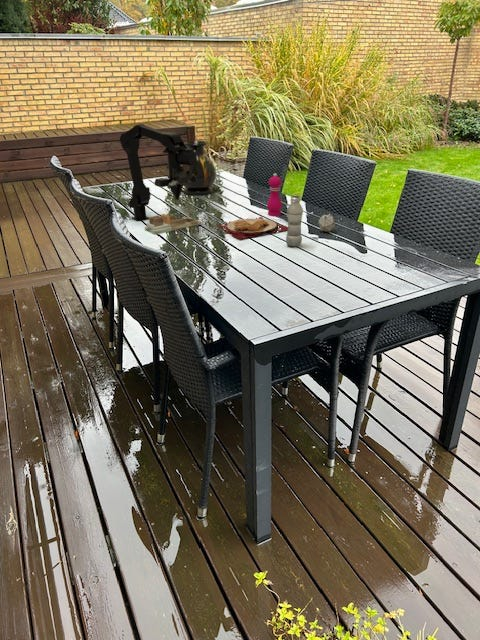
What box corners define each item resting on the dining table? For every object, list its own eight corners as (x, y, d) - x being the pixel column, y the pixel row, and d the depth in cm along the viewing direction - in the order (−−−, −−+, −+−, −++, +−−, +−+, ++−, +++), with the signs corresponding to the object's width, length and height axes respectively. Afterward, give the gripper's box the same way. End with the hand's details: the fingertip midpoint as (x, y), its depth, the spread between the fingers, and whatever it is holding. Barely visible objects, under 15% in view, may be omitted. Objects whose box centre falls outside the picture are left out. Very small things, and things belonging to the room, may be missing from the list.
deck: (145, 230, 221) (144, 221, 219) (189, 220, 234) (188, 211, 233) (155, 234, 215) (154, 225, 213) (199, 224, 228) (199, 215, 226)
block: (149, 224, 219) (148, 217, 218) (158, 222, 222) (157, 215, 220) (154, 227, 216) (154, 219, 214) (163, 225, 219) (162, 217, 217)
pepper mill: (280, 216, 237) (281, 174, 228) (266, 216, 239) (266, 174, 230) (282, 212, 244) (283, 172, 234) (268, 212, 245) (268, 171, 236)
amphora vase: (215, 196, 276) (213, 144, 263) (177, 197, 276) (174, 145, 263) (217, 188, 295) (215, 139, 282) (182, 188, 295) (179, 139, 282)
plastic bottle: (303, 243, 201) (305, 195, 192) (299, 249, 195) (301, 199, 186) (288, 242, 203) (289, 194, 194) (283, 247, 197) (285, 198, 188)
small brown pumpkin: (329, 239, 218) (343, 221, 215) (324, 237, 210) (339, 219, 207) (314, 226, 220) (328, 209, 217) (309, 225, 212) (324, 206, 209)
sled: (147, 226, 219) (146, 217, 217) (164, 222, 224) (163, 213, 222) (153, 229, 215) (152, 220, 213) (171, 225, 220) (170, 216, 218)
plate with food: (290, 232, 218) (290, 224, 216) (239, 241, 206) (239, 232, 204) (260, 220, 237) (261, 212, 235) (212, 227, 225) (212, 219, 223)
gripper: (165, 169, 203) (168, 206, 210) (202, 163, 213) (204, 199, 220) (152, 165, 211) (155, 201, 218) (188, 160, 221) (190, 195, 228)
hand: (177, 199), depth 221 cm, fingers closed
